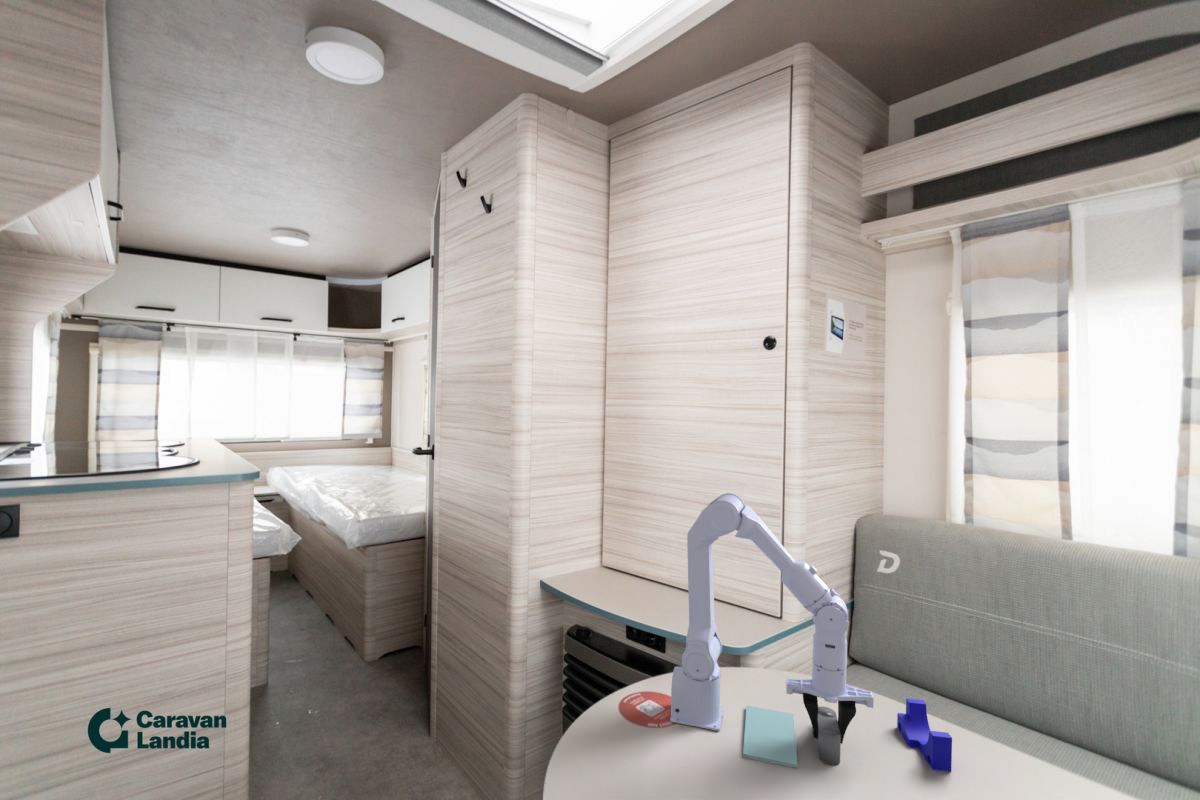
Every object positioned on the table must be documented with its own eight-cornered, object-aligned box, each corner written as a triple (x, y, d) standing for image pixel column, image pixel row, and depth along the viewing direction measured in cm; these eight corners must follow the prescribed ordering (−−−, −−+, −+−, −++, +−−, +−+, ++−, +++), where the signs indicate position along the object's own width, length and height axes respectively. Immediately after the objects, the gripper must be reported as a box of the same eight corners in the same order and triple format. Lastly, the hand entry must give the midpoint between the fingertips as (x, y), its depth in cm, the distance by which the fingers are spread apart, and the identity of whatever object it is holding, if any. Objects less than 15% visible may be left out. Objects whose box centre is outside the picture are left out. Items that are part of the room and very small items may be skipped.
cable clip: (897, 728, 107) (897, 697, 107) (922, 731, 106) (923, 700, 106) (922, 769, 95) (923, 734, 95) (951, 772, 94) (952, 737, 94)
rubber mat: (743, 757, 97) (743, 753, 97) (746, 708, 112) (746, 705, 112) (797, 768, 94) (797, 764, 94) (793, 716, 110) (793, 713, 110)
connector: (819, 762, 96) (820, 737, 96) (813, 723, 108) (814, 700, 108) (841, 767, 95) (842, 741, 95) (833, 726, 107) (833, 703, 107)
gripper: (787, 667, 99) (786, 742, 99) (877, 680, 94) (875, 760, 95) (786, 649, 105) (784, 720, 105) (870, 662, 101) (868, 736, 101)
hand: (827, 737), depth 100 cm, fingers closed on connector, 3 cm apart
